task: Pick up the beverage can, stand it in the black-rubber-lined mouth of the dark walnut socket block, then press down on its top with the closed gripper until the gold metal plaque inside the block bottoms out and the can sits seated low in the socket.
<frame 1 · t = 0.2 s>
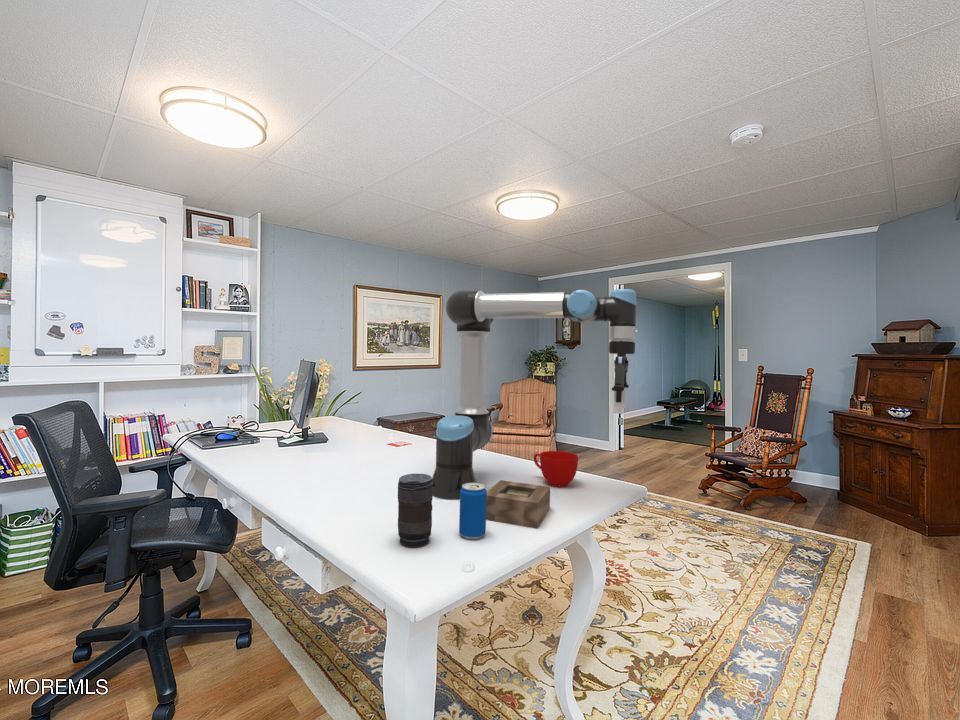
hand: (619, 410, 133), 28 cm above the table, fingers open, 13 cm apart
socket block: (517, 514, 121), on the table
ceramic cup: (553, 483, 152), on the table
camera lens: (414, 542, 102), on the table
gold metal plaque: (517, 496, 121), point 5 cm above the table, slide at 4.0 cm
beverage can: (472, 535, 107), on the table
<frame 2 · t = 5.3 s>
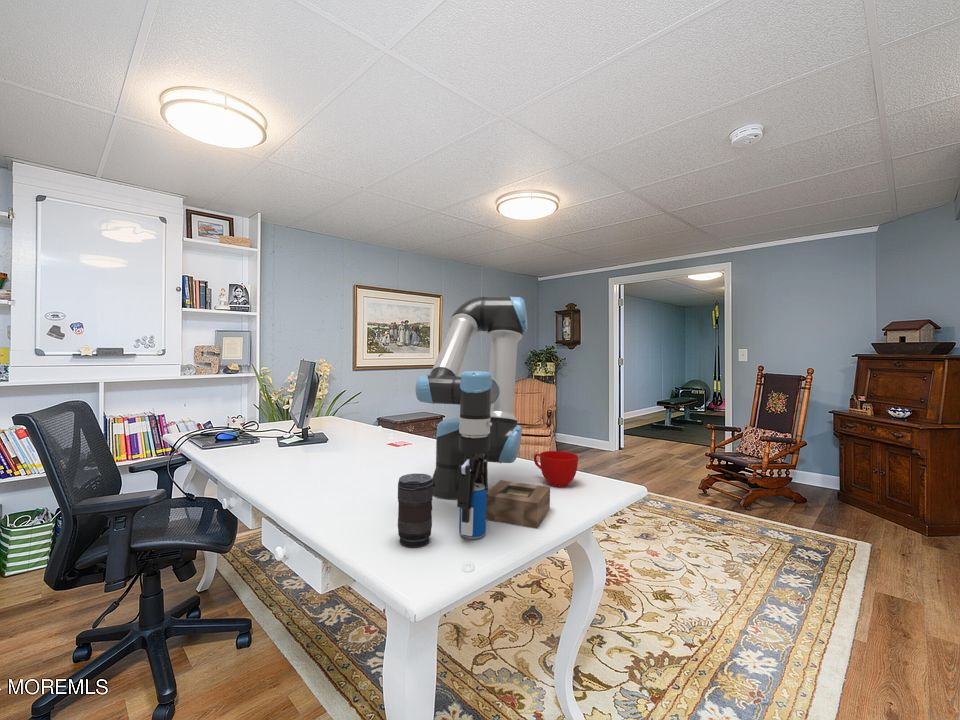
hand: (472, 529, 107), 1 cm above the table, fingers closed on beverage can, 6 cm apart
beverage can: (472, 535, 107), on the table, touching gripper
everything else where it was.
when the fingers open (8 cm above the table, at t = 10.0 s): beverage can drops 5 cm, resting on gold metal plaque.
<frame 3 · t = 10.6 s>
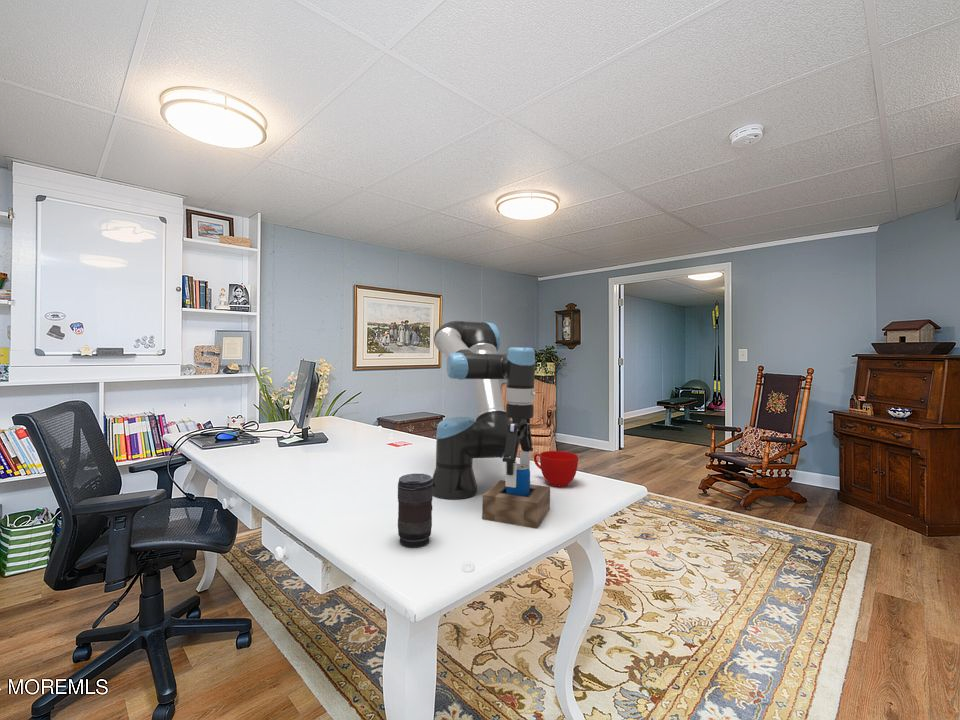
hand: (517, 480, 121), 9 cm above the table, fingers open, 13 cm apart
gold metal plaque: (517, 511, 121), point 1 cm above the table, slide at -0.2 cm, touching beverage can
beverage can: (517, 510, 121), point 1 cm above the table, touching gold metal plaque
everything else where it was.
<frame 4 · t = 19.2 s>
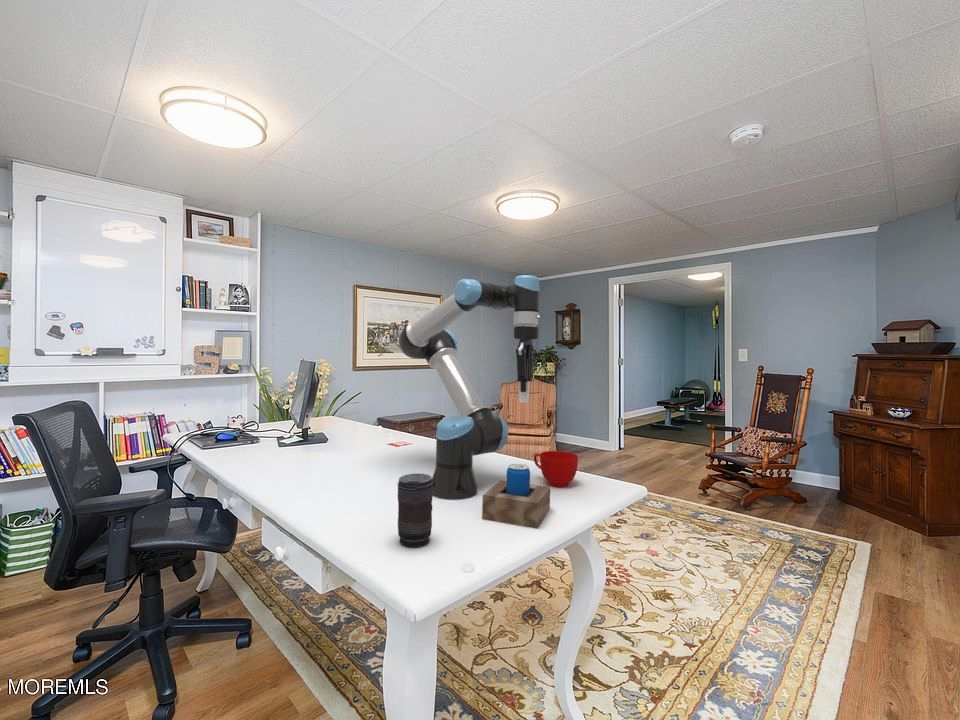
hand: (524, 402, 136), 29 cm above the table, fingers closed
nothing on the table moved.
at the end: gold metal plaque slide at -0.2 cm; beverage can 0.1 cm from the socket block (horizontally); beverage can tilted 0° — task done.
